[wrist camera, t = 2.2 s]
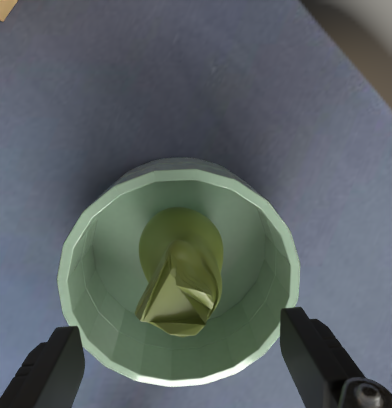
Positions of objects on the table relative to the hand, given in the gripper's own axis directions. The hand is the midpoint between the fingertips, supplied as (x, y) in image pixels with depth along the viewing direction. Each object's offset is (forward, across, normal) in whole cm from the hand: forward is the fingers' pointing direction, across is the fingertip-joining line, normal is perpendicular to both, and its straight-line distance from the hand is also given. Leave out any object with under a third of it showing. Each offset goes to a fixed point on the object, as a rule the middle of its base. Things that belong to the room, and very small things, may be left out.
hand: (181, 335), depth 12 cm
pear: (+12, 0, 0) cm, 12 cm away
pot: (+12, 0, +1) cm, 12 cm away
